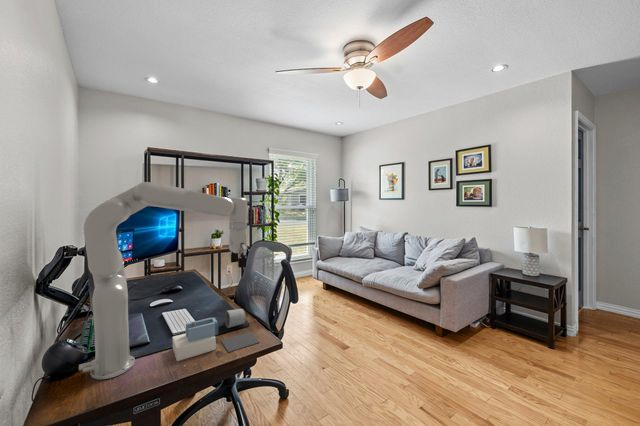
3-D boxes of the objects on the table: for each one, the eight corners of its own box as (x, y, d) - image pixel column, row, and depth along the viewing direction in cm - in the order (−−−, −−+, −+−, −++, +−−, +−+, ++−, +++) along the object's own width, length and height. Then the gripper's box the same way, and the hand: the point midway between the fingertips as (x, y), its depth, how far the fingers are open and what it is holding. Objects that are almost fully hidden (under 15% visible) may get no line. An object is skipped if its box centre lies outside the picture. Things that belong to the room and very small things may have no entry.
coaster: (228, 352, 109) (228, 351, 109) (221, 341, 117) (221, 340, 117) (259, 342, 117) (259, 341, 117) (250, 332, 125) (250, 331, 125)
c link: (188, 342, 107) (188, 329, 106) (185, 335, 112) (185, 323, 111) (218, 334, 113) (218, 322, 113) (214, 328, 118) (214, 316, 118)
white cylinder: (246, 325, 131) (246, 310, 130) (229, 330, 126) (229, 314, 126) (238, 317, 139) (238, 302, 139) (222, 322, 135) (222, 306, 134)
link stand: (176, 361, 103) (176, 332, 102) (172, 348, 111) (172, 322, 110) (215, 349, 111) (215, 323, 110) (209, 338, 119) (209, 313, 118)
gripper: (223, 224, 126) (223, 261, 127) (236, 228, 112) (236, 270, 113) (239, 223, 130) (239, 259, 131) (254, 227, 116) (254, 267, 117)
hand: (238, 264), depth 122 cm, fingers open, 9 cm apart
